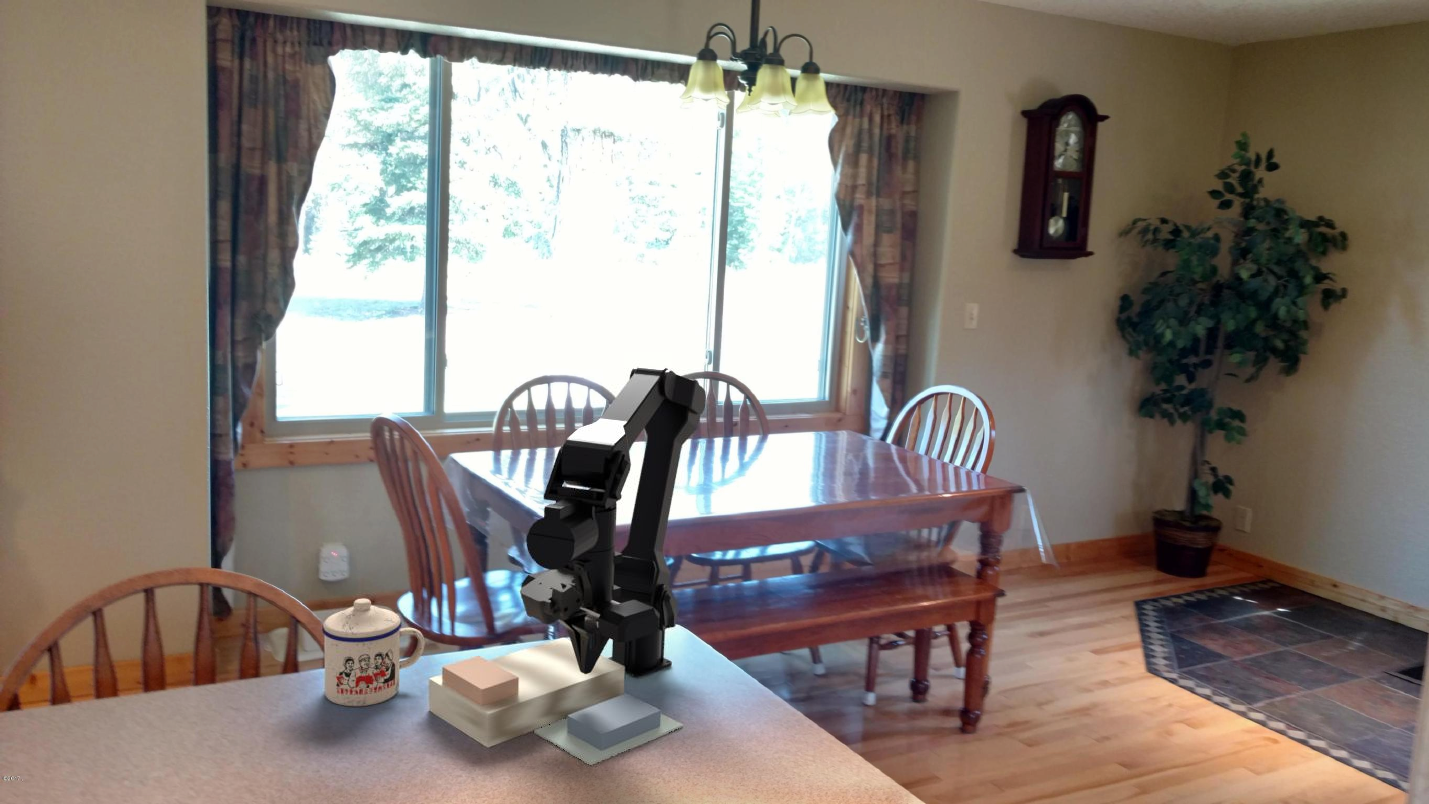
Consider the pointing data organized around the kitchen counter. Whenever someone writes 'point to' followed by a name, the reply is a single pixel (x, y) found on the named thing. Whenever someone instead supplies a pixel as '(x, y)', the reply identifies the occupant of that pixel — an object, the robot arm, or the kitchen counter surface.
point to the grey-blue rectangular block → (613, 721)
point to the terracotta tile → (480, 680)
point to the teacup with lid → (364, 654)
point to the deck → (530, 693)
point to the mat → (593, 755)
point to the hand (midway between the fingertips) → (585, 672)
